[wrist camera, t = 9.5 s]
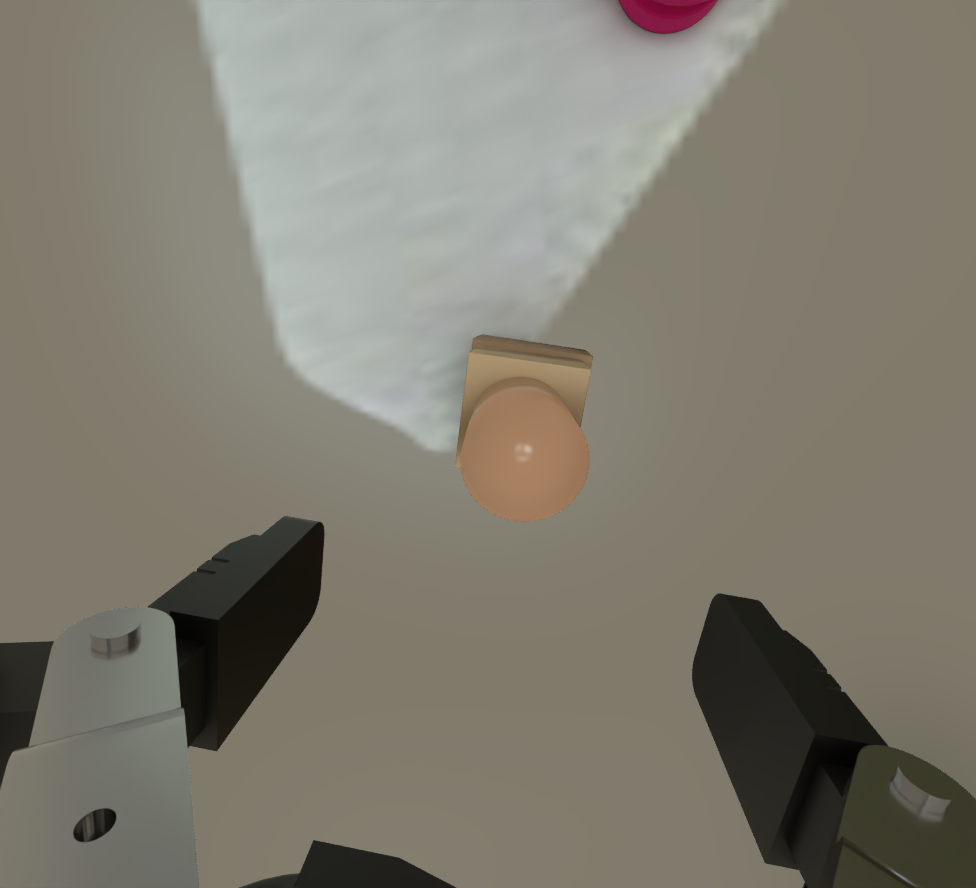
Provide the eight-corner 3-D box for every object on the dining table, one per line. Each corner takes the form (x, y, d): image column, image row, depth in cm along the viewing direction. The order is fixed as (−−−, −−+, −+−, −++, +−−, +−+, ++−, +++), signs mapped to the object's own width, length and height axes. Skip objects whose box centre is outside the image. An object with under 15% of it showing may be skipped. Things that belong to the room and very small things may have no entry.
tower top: (479, 345, 30) (468, 352, 25) (581, 360, 30) (591, 369, 25) (466, 444, 32) (454, 468, 27) (564, 458, 31) (569, 485, 27)
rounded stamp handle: (474, 371, 25) (466, 392, 20) (577, 382, 25) (598, 406, 20) (465, 468, 27) (455, 514, 21) (562, 478, 27) (579, 528, 21)
